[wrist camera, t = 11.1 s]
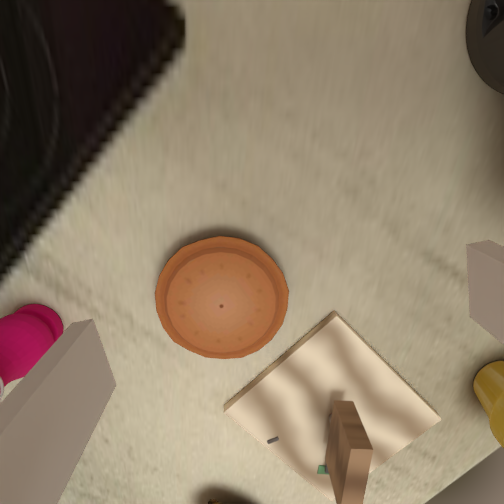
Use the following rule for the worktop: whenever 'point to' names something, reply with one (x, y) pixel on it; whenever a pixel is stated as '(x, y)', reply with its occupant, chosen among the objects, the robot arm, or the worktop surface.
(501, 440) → the plant pot
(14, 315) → the pepper mill
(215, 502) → the potato
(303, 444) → the plate
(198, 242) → the pie
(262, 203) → the worktop surface
